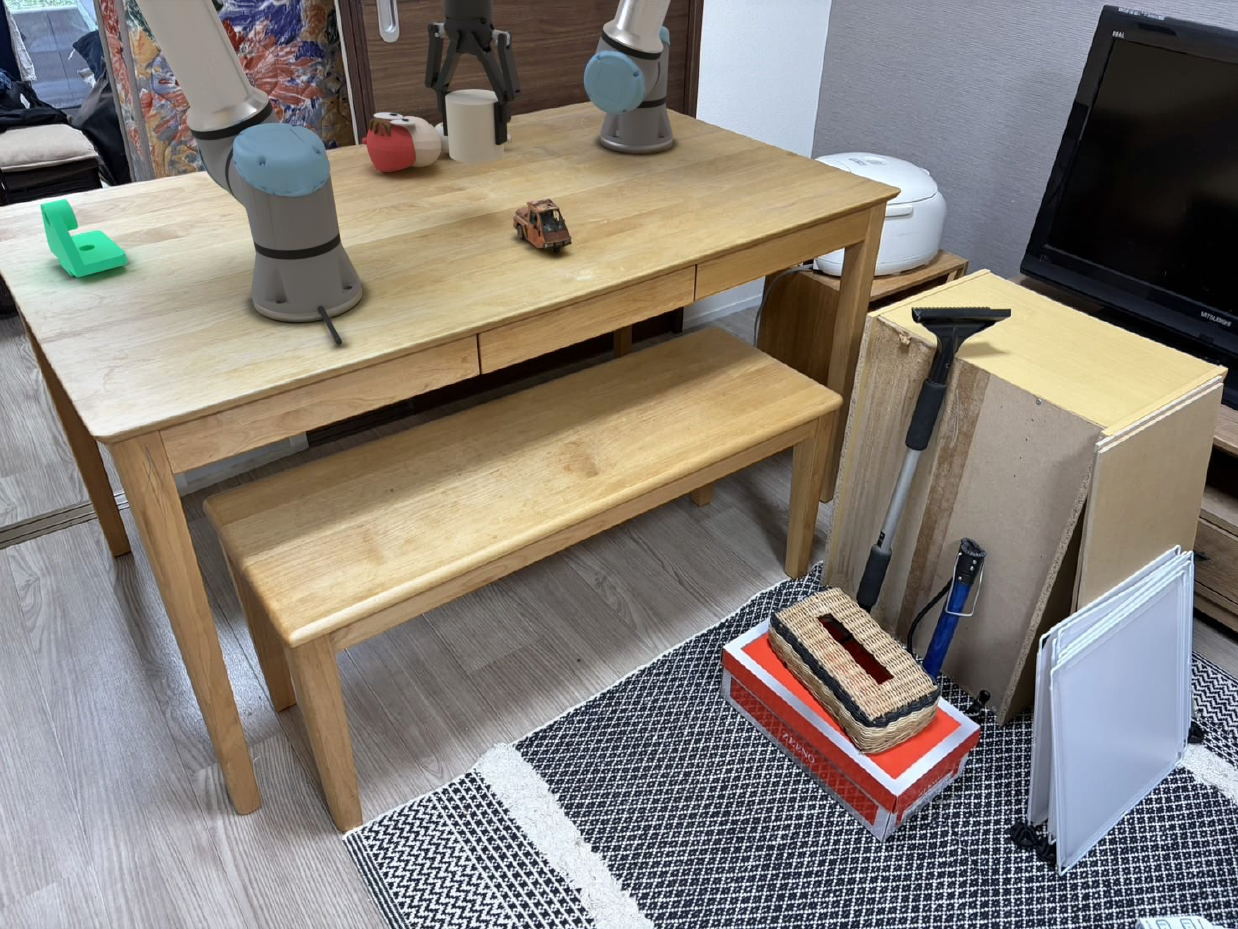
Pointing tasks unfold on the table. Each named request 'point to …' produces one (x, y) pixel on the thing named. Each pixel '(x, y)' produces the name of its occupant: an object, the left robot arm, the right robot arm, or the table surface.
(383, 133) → the toy
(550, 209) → the toy car
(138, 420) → the table surface
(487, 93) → the canister
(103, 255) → the camera mount
